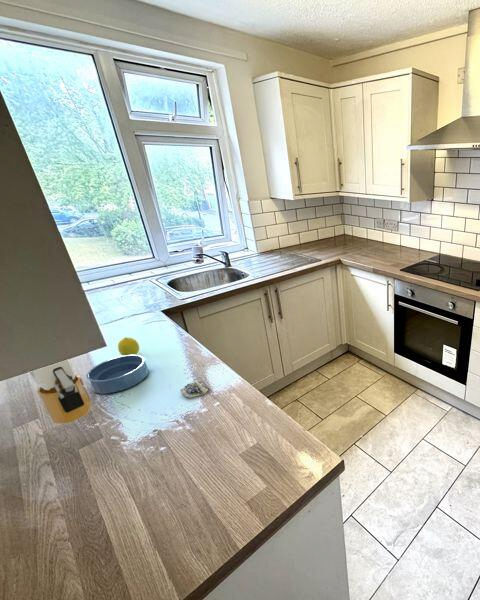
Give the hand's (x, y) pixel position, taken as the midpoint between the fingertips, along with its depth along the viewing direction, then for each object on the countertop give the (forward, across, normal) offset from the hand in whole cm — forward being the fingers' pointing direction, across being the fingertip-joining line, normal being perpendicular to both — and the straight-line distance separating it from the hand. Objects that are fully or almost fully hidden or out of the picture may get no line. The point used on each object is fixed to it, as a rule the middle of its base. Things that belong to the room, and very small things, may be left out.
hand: (67, 401), depth 74 cm
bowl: (+15, -24, +16) cm, 33 cm away
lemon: (+15, -36, +24) cm, 46 cm away
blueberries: (+14, +1, +25) cm, 29 cm away
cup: (+3, 0, 0) cm, 3 cm away
